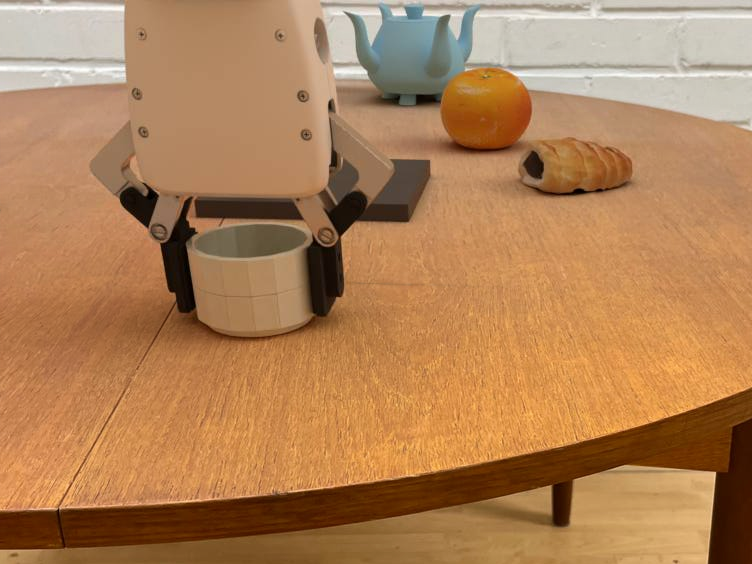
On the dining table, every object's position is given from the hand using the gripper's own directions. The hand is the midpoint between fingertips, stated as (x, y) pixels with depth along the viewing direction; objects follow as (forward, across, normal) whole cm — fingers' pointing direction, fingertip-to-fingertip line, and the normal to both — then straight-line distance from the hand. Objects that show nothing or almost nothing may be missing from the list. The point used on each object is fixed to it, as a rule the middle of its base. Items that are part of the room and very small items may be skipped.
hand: (258, 304), depth 55 cm
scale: (+1, +2, -26) cm, 26 cm away
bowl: (+1, 0, 0) cm, 1 cm away
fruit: (+1, -10, -45) cm, 46 cm away
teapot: (+1, 0, -70) cm, 70 cm away
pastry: (+1, -18, -31) cm, 36 cm away
